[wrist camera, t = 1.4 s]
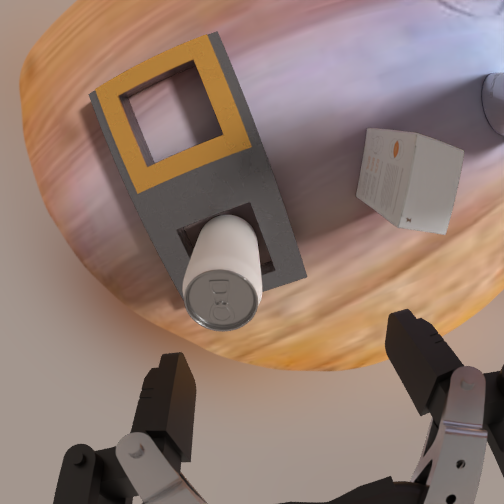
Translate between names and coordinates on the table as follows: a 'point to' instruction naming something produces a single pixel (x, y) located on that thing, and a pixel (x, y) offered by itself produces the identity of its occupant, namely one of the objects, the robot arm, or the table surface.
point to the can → (224, 275)
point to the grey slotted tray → (197, 163)
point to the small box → (410, 179)
